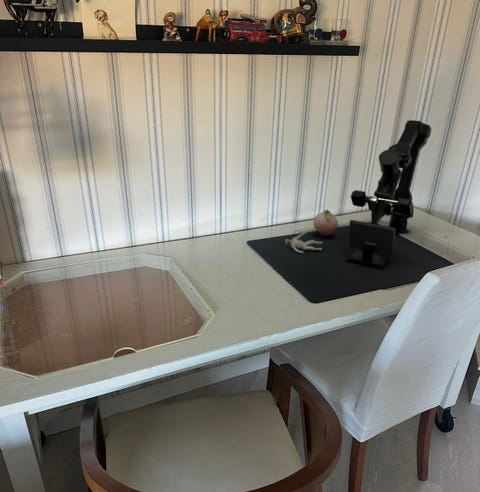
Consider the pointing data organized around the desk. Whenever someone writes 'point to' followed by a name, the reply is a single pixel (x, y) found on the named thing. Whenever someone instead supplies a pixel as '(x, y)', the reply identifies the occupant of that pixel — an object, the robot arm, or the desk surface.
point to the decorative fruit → (325, 223)
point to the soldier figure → (302, 244)
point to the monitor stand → (368, 258)
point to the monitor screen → (372, 236)
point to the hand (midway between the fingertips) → (372, 225)
